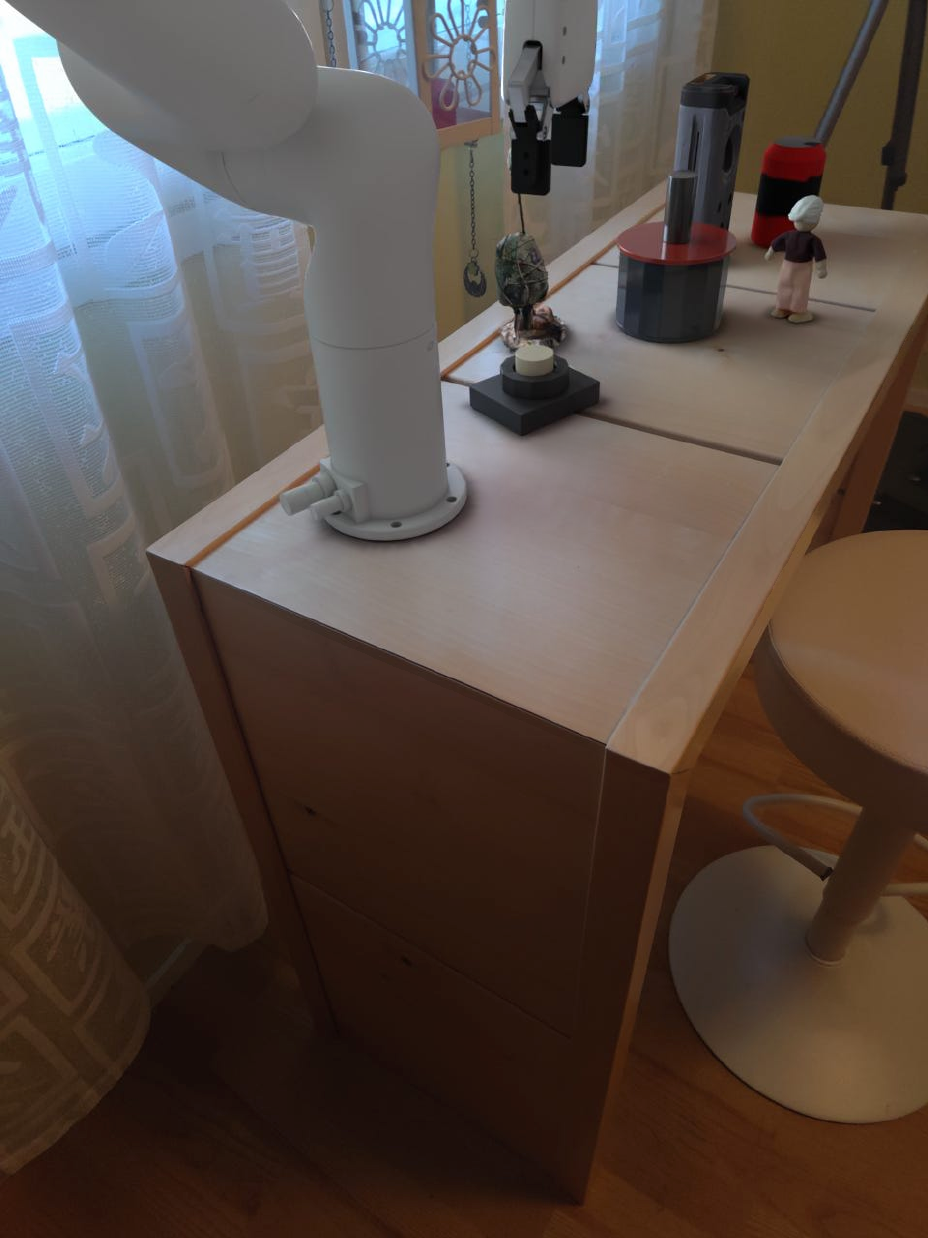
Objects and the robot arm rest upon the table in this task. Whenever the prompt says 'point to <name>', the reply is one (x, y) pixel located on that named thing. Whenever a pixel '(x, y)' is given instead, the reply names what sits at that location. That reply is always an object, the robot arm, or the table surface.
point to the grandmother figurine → (799, 260)
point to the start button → (534, 360)
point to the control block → (533, 395)
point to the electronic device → (712, 140)
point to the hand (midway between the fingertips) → (550, 178)
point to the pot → (670, 299)
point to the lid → (678, 230)
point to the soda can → (786, 184)
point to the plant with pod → (525, 290)
